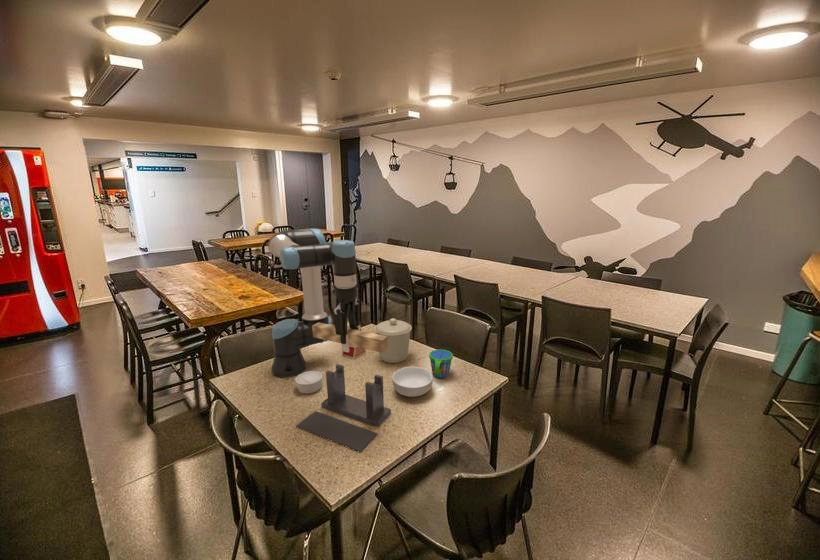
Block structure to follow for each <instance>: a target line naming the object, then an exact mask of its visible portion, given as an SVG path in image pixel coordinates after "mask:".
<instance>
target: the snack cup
mask: <svg viewBox="0 0 820 560" xmlns="http://www.w3.org/2000/svg"><path fill="white" fill-rule="evenodd" d="M428 354H429V355H428V359H429V361H430V367H431V374H432V376H433V377H435V378H437V379H445V378H448V376H449V375H450V371H451V367H452V360H453V357H454V354H453V353H452V352H451V351H450V350H447V349H433V350H431V351H430V352H429V353H428Z"/></svg>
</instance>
